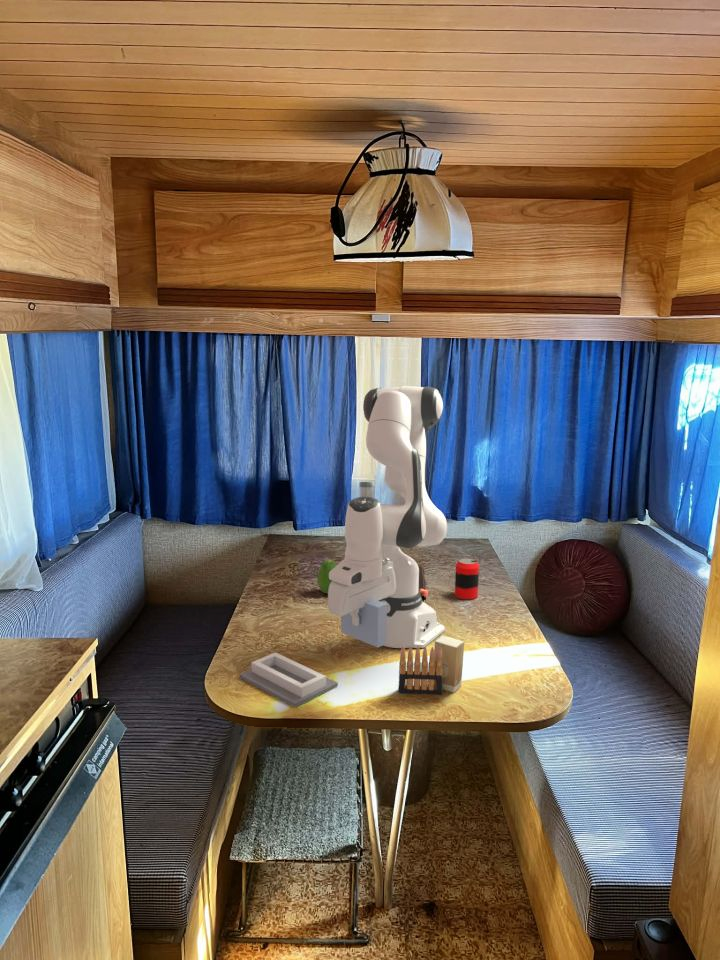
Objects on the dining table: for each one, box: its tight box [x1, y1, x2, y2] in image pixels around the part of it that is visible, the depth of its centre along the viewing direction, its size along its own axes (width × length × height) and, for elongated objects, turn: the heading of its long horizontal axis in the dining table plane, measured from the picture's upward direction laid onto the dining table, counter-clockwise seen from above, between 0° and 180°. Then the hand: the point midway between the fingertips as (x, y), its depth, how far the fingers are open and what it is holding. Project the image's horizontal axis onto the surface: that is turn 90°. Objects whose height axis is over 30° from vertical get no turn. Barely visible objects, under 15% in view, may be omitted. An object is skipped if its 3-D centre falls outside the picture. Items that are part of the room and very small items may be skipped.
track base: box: [239, 652, 339, 708], centre depth 181 cm, size 14×21×4 cm, turn 47°
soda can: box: [454, 558, 480, 600], centre depth 239 cm, size 8×8×12 cm
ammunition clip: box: [397, 646, 443, 696], centre depth 176 cm, size 11×2×12 cm, turn 86°
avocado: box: [317, 558, 338, 595], centre depth 240 cm, size 8×8×12 cm
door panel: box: [340, 599, 387, 648], centre depth 173 cm, size 3×12×10 cm, turn 47°
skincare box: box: [433, 634, 465, 693], centre depth 179 cm, size 6×4×12 cm
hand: (363, 621), depth 173 cm, fingers closed on door panel, 3 cm apart
